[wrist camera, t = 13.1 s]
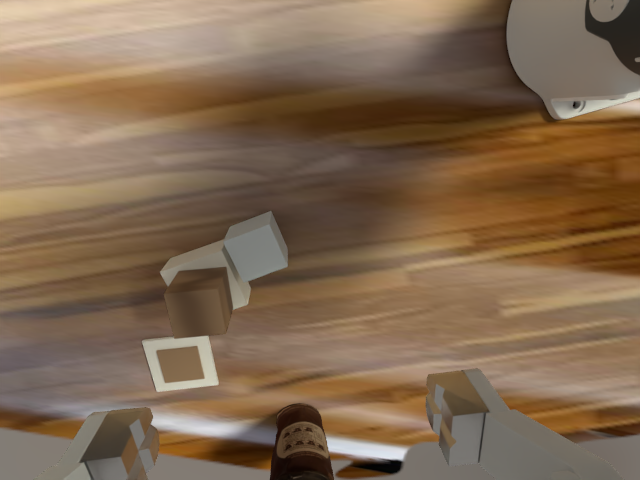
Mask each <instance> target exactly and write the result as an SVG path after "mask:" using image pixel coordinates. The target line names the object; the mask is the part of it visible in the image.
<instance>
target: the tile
mask: <svg viewBox="0 0 640 480" xmlns="http://www.w3.org/2000/svg"><path fill="white" fill-rule="evenodd" d="M142 344H143V347H144V350H145V354H146V357H147V360H148V364H149V367H150V370H151V374H152V377H153V381H154V384H155V387H156V391H157V392H161V391H169V390H178V389H187V388H196V387H204V386H213V385H218V384H219V382H218V377H217V372H216V368H215V363H214V358H213V354H212V349H211V344H210V340H209V336H200V337H190V338H179V339H174V336H173V337H163V338H154V339H144V340H143V341H142Z"/></svg>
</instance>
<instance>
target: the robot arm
mask: <svg viewBox="0 0 640 480" xmlns="http://www.w3.org/2000/svg"><path fill="white" fill-rule="evenodd" d="M507 47H508V53H509V57H510V60H511V63H512V65H513V67H514V69H515V71H516V73H517V75H518V76H519V78H520V79H521V80H522V81H523V82H524V83H525V84H526V85H527V86H528V87H529V88H530V89H532V90H533V91H534V92H536V93H537V94H538V95H539V96H540V97H541V98H542V99H543V101H544V104H545V106H546V108H547V110H548V112H549V113H550V115H551V116H552V117H553V118H554V119H557V120H560V119H568V118H572V117H575V116H579V115H582V114H586V113H589V112H593V111H596V110H600V109H603V108H607V107H610V106H614V105H617V104H621V103H624V102H628V101H631V100H635V99H638V98H640V0H512V3H511V6H510V10H509V15H508V21H507ZM574 102H575V103H576V104H575V107H574V108H573V103H574ZM426 385H427V387H428V389H429V391H430V392H429V394H428V395H427V396H426V411H427V416H428V420H429V423H430V425H431V428H432V430H433V431H434V432H435V433H437V434H438V435H439V446H440V448H441V450H442V452H443V455H444V457H445V459H446V461H447V463H448V465H449V466H456V465H466V464H476V463H479V465H480V466H481V467H482V468H483V469H484V470H486V471H487V472H488V473H489V474H490V475H491V476H492V477H493V478H495V479H496V480H624V479H623V478H622V476H621V475H620V474H619V473H618V472H617V471H616V470H615V469H614V467H613V466H612V465H611V464H610V463H608V462H606V461H605V460H603V459H601V458H599V457H598V456H596V455H594V454H592V453H591V452H589V451H587V450H585V449H583V448H582V447H580V446H578V445H577V444H575V443H573V442H571V441H570V440H568V439H566V438H564V437H562V436H561V435H559V434H557V433H555V432H554V431H552V430H550V429H548V428H547V427H545V426H543V425H541V424H540V423H538V422H536V421H534V420H533V419H531V418H529V417H527V416H526V415H524V414H522V413H520V412H519V411H517V410H510V409H509V408H508V407H507V405H506V404H505V403H504V401H503V400H502V398H501V397H500V396H499V394H498V393H497V392H496V390H495V389H494V388H493V386H492V385H491V384H490V382H489V381H488V379H487V378H486V377H485V375H484V374H483V373H482V371H481V370H479V369H478V368H475V369H467V370H461V371H453V372H445V373H437V374H429V375H428V377H427V384H426ZM152 419H153V415H152V412H151V410H150V408H147V407H144V408H133V409H122V410H112V411H104V412H94V413H92V414H91V415H89V416H88V417H87V419H86V420H85V422H84V424H83V425H82V427H81V428H80V430H79V431H78V433H77V434H76V436H75V438H74V439H73V441H72V442H71V444H70V446H69V447H68V449H67V450H66V452H65V453H64V455H63V456H62V458H61V460H60V461H59V463H58V464H57V466H51V467H49V468H48V469H47V470H46V471H44V472H43V473H41V474H40V475H39V476H37V477H36V478H35V479H34V480H148V478H147V475H146V473H147V472H148V471H149V470H150V469H151V468H152V467H153V466H154V465H155V462H156V459H157V456H158V451H159V435H158V431H157V429H156V428H155V427H154V426H152V425H151V421H152Z"/></svg>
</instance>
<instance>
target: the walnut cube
mask: <svg viewBox="0 0 640 480" xmlns="http://www.w3.org/2000/svg"><path fill="white" fill-rule="evenodd" d="M164 298H165V302H166V306H167V311H168V315H169V319H170V323H171V327H172V331H173V336H174V339H179V338H190V337H200V336H210V335H220V334H226V332H227V328H228V325H229V321H230V317H231V314H232V310H233V303H232V297H231V291H230V285H229V279H228V273H227V267H218V268H206V269H195V270H183V271H178V273H177V274H176V276H175V277H174V279H173V280H172V282H171V283H170V285H169V286H168V288H167V289H166V291H165V292H164Z"/></svg>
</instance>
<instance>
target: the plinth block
mask: <svg viewBox="0 0 640 480" xmlns="http://www.w3.org/2000/svg"><path fill="white" fill-rule="evenodd" d="M223 241H224V239H223V240H220V241H217V242H214V243H212V244H209V245H206V246H203V247H200V248H198V249H195V250H192V251H189V252H186V253H183V254H181V255H178V256H175V257H172V258H170V259H169V261H168V262H167V263H166V265H165V266H164V267H163V269H162V270H161V271H160V274H161V276H162V277H163V279H164V281H165V283H166V284H167V286H169V285H170V283H171V282H172V280H173V279H174V277H175V276H176V274H177V273H178V271H183V270H195V269H206V268H218V267H227V273H228V279H229V285H230V291H231V297H232V303H233V310H234V309H237V308H240V307H242V306H245V305H248V301H249V296H250V291H251V287H250V285H249V283H248V282H245V283H244V282H243V281H242V279H241V277H240V275H239V273H238V271H237V269H236V267H235V265H234V263H233V261H232V259H231V257H230V255H229V253H228V251H227V249H226V247H225V245H224V243H223Z"/></svg>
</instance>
